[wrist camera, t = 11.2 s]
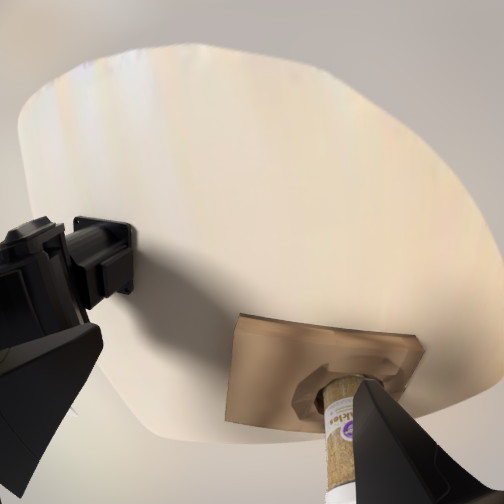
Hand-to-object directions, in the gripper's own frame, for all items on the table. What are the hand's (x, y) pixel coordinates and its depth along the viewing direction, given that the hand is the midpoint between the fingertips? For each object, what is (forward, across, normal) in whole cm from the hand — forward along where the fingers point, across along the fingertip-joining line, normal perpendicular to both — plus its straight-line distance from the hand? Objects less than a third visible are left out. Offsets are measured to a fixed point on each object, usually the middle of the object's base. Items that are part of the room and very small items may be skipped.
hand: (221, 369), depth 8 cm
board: (+13, -7, +12) cm, 19 cm away
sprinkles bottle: (+13, -10, +12) cm, 20 cm away
